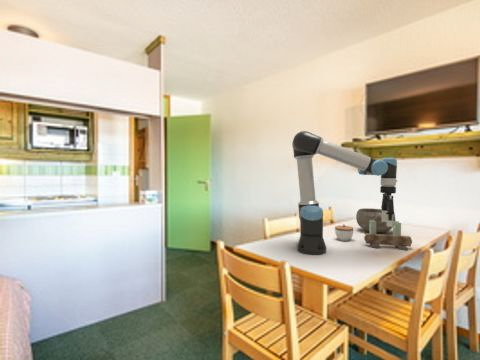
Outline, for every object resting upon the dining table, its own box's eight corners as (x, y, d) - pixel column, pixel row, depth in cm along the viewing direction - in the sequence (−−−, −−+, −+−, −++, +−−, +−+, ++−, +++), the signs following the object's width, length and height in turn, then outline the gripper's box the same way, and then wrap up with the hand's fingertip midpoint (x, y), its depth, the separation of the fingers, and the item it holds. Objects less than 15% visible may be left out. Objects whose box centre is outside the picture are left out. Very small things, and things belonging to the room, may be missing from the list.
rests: (371, 247, 147) (371, 245, 147) (369, 243, 156) (369, 241, 155) (407, 250, 142) (407, 247, 142) (402, 246, 150) (402, 243, 150)
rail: (365, 243, 150) (365, 234, 150) (364, 241, 154) (364, 233, 154) (412, 246, 143) (412, 237, 143) (410, 245, 147) (410, 236, 146)
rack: (369, 241, 160) (369, 221, 160) (368, 238, 166) (368, 219, 166) (401, 243, 155) (402, 223, 155) (399, 241, 161) (399, 221, 160)
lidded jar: (347, 243, 157) (347, 227, 157) (331, 239, 166) (331, 224, 165) (356, 239, 164) (356, 224, 164) (340, 236, 172) (340, 222, 172)
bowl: (394, 237, 169) (395, 214, 169) (353, 233, 182) (353, 211, 181) (395, 230, 190) (396, 209, 189) (358, 226, 202) (358, 207, 202)
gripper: (402, 187, 134) (400, 229, 135) (390, 185, 158) (389, 220, 159) (385, 186, 137) (383, 227, 138) (376, 184, 160) (375, 219, 161)
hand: (386, 224), depth 148 cm, fingers open, 13 cm apart
